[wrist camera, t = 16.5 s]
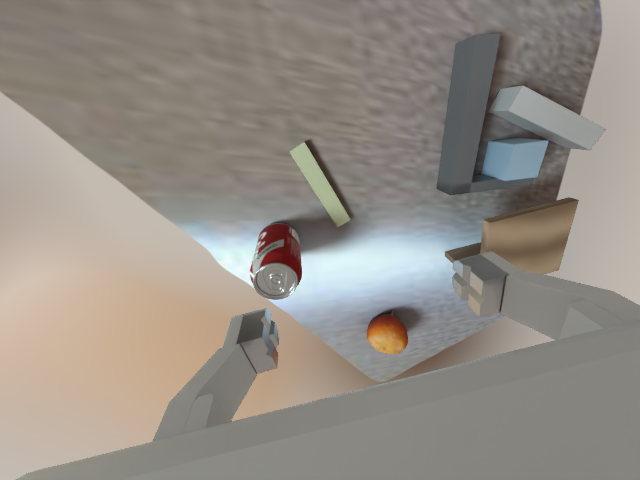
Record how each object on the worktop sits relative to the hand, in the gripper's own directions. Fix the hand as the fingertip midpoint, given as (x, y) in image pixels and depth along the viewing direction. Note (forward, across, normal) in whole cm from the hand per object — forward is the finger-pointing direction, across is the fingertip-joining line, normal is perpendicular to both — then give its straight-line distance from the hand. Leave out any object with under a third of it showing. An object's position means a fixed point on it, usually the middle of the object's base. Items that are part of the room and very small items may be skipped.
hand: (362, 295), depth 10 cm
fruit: (+29, -7, +35) cm, 46 cm away
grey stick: (+29, -35, +1) cm, 46 cm away
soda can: (+29, +8, +10) cm, 32 cm away
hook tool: (+29, -27, -1) cm, 40 cm away
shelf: (+29, -27, +16) cm, 43 cm away
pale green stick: (+30, -1, +3) cm, 30 cm away
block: (+29, -30, +5) cm, 42 cm away
